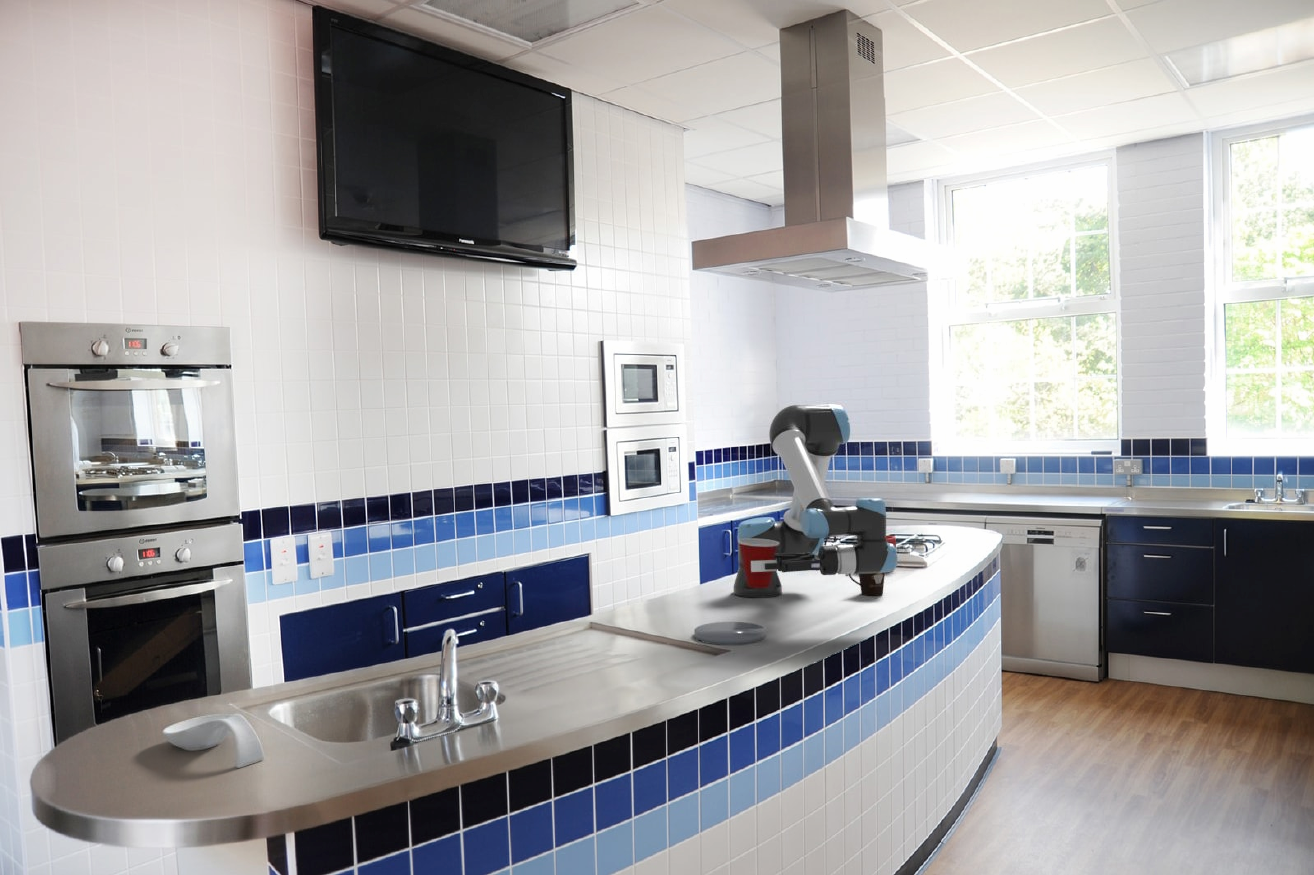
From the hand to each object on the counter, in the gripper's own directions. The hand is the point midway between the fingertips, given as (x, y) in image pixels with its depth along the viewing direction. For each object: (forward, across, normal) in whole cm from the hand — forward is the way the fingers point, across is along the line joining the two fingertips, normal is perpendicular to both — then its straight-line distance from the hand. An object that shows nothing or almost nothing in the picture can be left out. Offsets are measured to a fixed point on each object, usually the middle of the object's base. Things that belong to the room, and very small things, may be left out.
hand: (748, 563), depth 231 cm
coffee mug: (-43, +42, -18) cm, 63 cm away
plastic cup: (-3, 0, -6) cm, 7 cm away
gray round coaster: (+6, -3, -18) cm, 19 cm away
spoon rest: (+105, -69, -18) cm, 127 cm away
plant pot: (-59, +83, -18) cm, 103 cm away
